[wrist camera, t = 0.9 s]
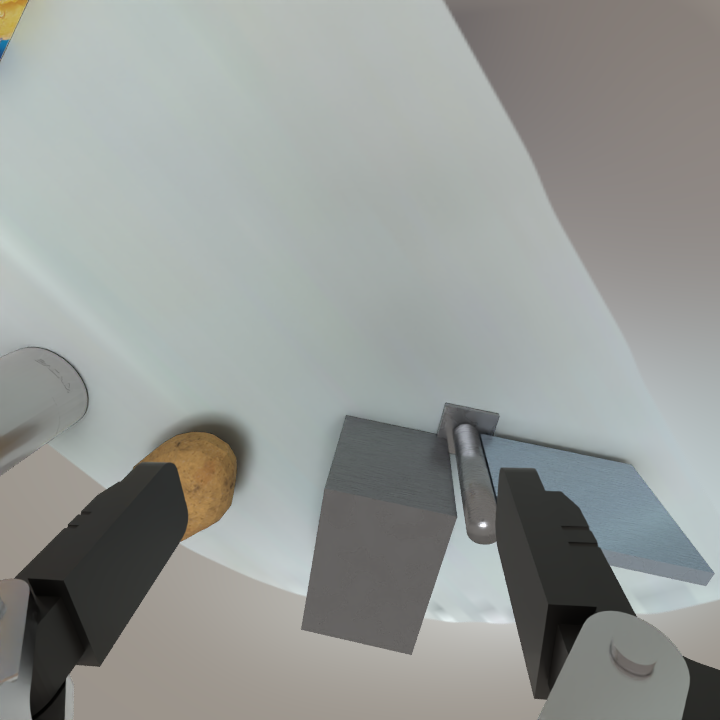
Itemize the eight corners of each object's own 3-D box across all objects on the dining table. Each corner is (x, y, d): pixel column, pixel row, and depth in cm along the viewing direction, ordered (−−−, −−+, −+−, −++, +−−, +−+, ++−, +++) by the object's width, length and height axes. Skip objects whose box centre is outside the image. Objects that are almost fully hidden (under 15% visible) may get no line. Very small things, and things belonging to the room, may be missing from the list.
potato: (277, 451, 45) (251, 503, 38) (203, 520, 50) (167, 579, 43) (203, 390, 43) (160, 433, 36) (134, 468, 48) (84, 520, 41)
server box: (447, 563, 48) (456, 665, 38) (324, 536, 49) (301, 629, 39) (498, 413, 40) (526, 490, 30) (351, 384, 41) (331, 449, 31)
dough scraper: (450, 443, 41) (462, 540, 30) (456, 421, 40) (471, 513, 29) (622, 479, 41) (701, 592, 29) (633, 458, 40) (719, 566, 28)
